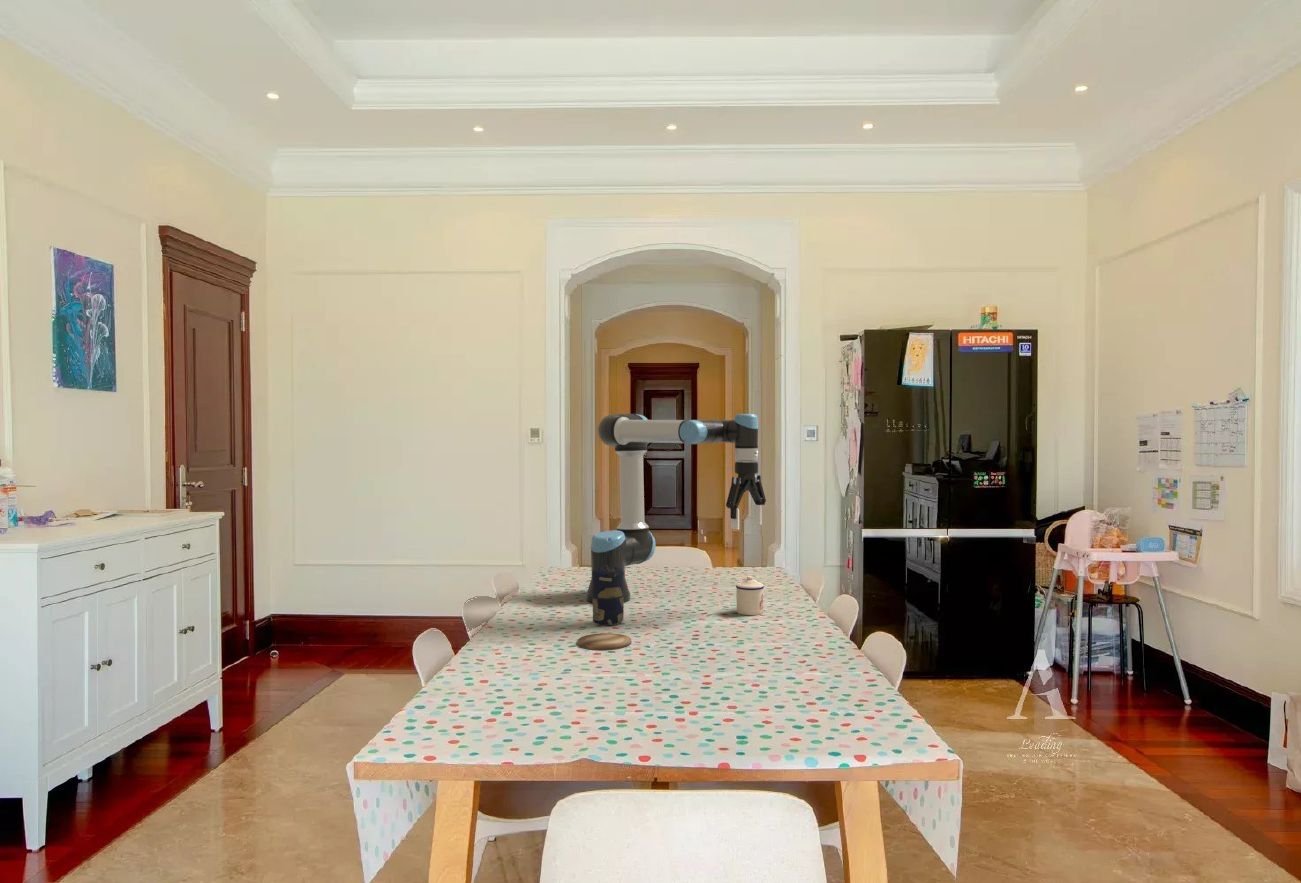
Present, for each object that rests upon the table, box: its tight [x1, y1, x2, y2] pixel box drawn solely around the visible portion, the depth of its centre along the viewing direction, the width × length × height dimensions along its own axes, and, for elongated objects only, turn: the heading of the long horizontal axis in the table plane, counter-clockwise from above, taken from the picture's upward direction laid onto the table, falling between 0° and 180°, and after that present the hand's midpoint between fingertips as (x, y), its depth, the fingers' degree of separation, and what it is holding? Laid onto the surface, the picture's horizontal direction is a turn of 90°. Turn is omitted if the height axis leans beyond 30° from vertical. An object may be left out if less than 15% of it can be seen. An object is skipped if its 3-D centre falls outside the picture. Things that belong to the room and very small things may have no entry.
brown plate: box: [577, 632, 632, 651], centre depth 235 cm, size 15×15×1 cm
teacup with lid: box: [735, 575, 765, 616], centre depth 272 cm, size 12×9×12 cm
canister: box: [591, 565, 625, 626], centre depth 258 cm, size 10×10×18 cm
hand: (746, 526), depth 271 cm, fingers open, 13 cm apart
